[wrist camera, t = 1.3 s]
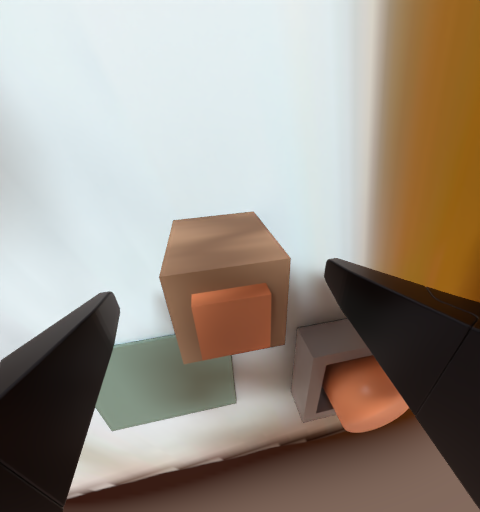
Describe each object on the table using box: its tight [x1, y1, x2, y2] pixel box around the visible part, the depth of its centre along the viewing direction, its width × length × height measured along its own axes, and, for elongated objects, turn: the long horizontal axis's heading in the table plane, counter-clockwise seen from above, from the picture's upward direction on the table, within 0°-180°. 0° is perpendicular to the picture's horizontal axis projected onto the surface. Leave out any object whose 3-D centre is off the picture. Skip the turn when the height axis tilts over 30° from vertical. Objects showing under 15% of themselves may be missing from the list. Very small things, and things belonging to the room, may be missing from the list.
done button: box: [322, 355, 409, 433], centre depth 16 cm, size 5×5×3 cm
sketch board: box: [95, 335, 236, 431], centre depth 16 cm, size 10×9×1 cm
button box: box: [291, 319, 372, 423], centre depth 17 cm, size 8×8×2 cm
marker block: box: [159, 212, 291, 364], centre depth 10 cm, size 4×4×6 cm
